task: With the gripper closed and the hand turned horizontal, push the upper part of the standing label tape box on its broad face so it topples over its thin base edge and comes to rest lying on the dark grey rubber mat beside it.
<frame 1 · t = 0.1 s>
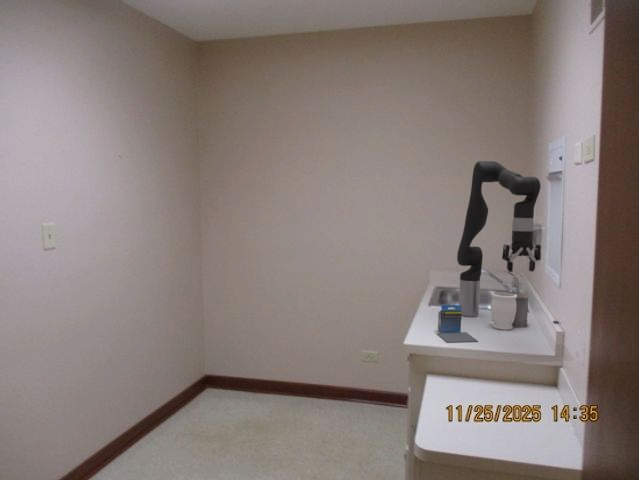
hand: (520, 271, 182), 29 cm above the table, tool pointing down, fingers open, 8 cm apart
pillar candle: (515, 324, 214), on the table, touching jar
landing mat: (456, 337, 194), on the table
jar: (502, 327, 209), on the table, touching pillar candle
label tape box: (449, 332, 202), on the table
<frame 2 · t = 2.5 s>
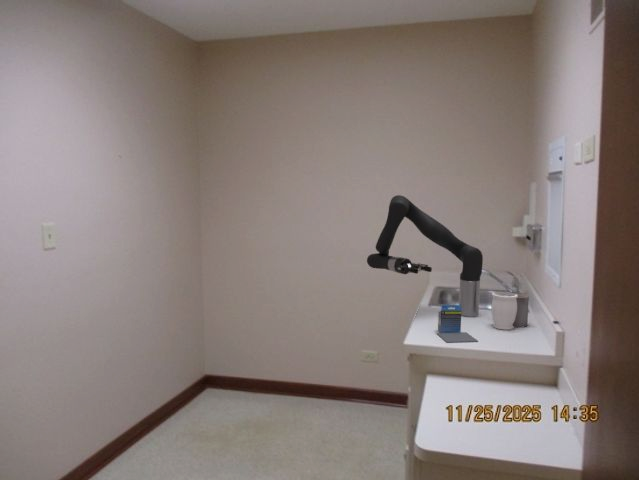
hand: (424, 270, 213), 24 cm above the table, tool horizontal, fingers open, 8 cm apart
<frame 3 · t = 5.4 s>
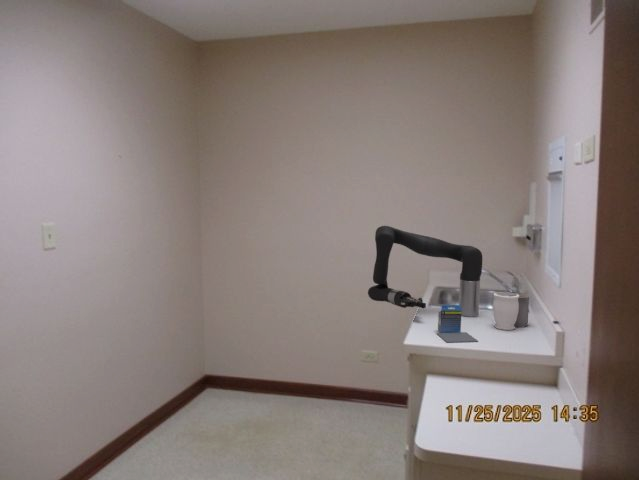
hand: (424, 305, 214), 8 cm above the table, tool horizontal, fingers closed
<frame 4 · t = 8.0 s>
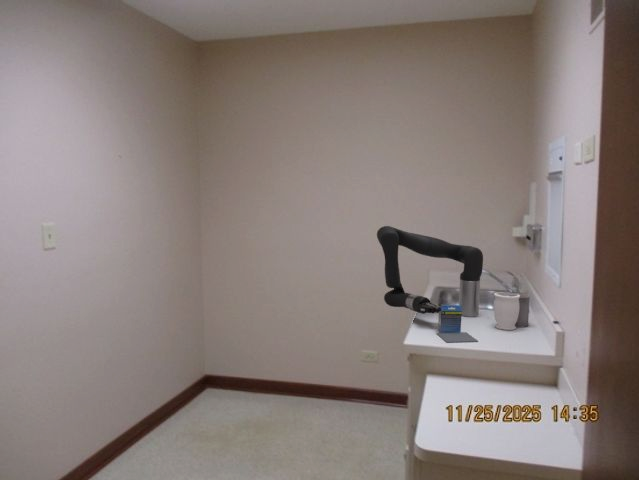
hand: (445, 312, 203), 8 cm above the table, tool horizontal, fingers closed
label tape box: (449, 332, 202), on the table, touching gripper
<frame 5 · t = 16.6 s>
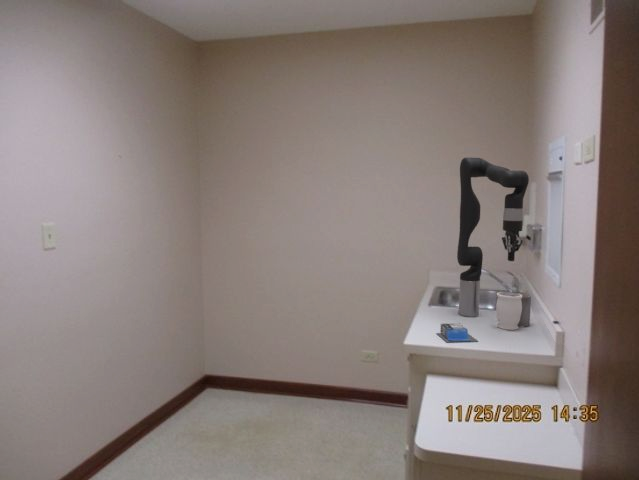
hand: (510, 260, 197), 31 cm above the table, tool pointing down, fingers closed
jar: (508, 328, 209), on the table, touching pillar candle
label tape box: (450, 327, 200), point 2 cm above the table, touching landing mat
at the end: label tape box tilted 88°; label tape box inside the target area (8.1 cm from its centre), point 2.2 cm above the table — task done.
